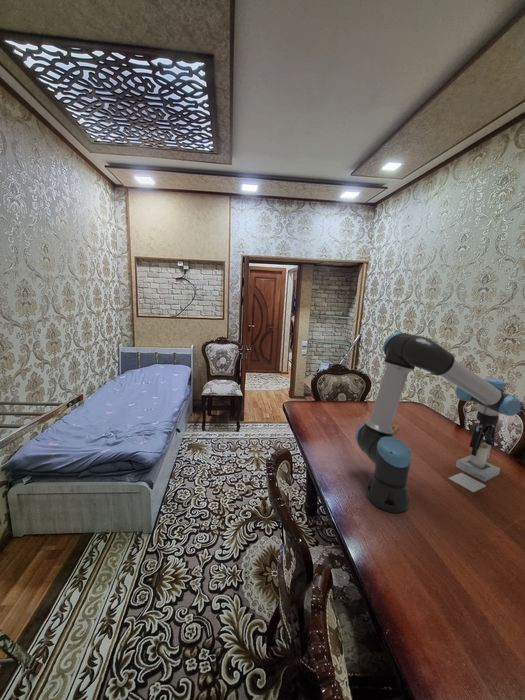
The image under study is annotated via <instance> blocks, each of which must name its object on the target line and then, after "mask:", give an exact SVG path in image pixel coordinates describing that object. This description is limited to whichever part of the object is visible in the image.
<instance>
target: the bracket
mask: <svg viewBox="0 0 525 700" xmlns="http://www.w3.org/2000/svg"><path fill="white" fill-rule="evenodd" d="M399 427H400V426H399V425H398V424H396V423H394V422H392V425H391V428H392V430H393V435H392V437H394V436H395V434H396V433H397V432H398V431H399V429H400V428H399Z"/></svg>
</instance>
